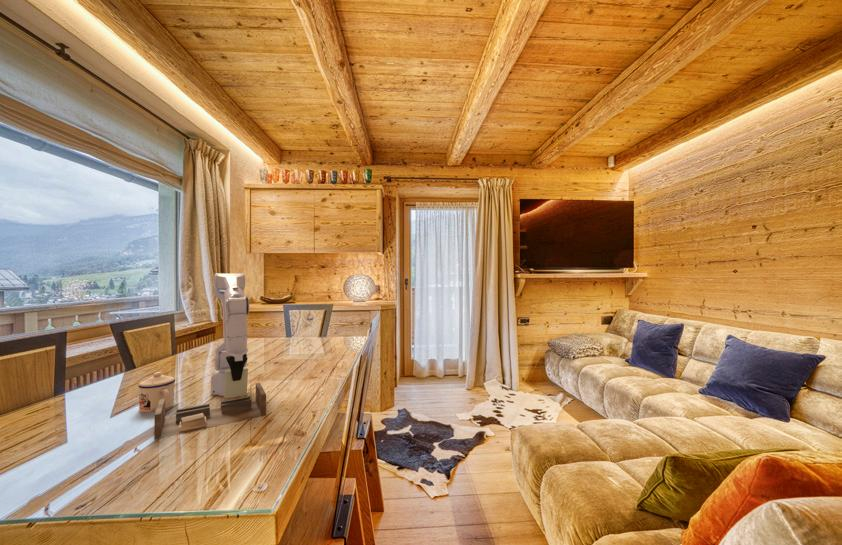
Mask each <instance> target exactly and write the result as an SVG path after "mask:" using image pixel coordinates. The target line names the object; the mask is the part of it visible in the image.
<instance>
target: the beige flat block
mask: <svg viewBox="0 0 842 545" xmlns="http://www.w3.org/2000/svg"><path fill="white" fill-rule="evenodd" d="M248 376H249V369H248V368H243V373H242V377H241V380H238V381H233V379H232V375H231V370H227V371H226V374H225V394H224V396H223V397H224V399H229V398H236V397H245V396H247V395H248Z"/></svg>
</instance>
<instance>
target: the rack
mask: <svg viewBox="0 0 842 545" xmlns="http://www.w3.org/2000/svg"><path fill="white" fill-rule="evenodd" d="M210 406H211V405H210V403H206V404H204V403H203V404H200V405H195V406H189V407H184V408H183V407H182V408H178V409H176V413H175V416H170V417H166V409H165V398H163V399H160V400H159V403H158V406H157V409H156V411H154V412H155V413H154V428H153V430H154V440H160V439H164V438H168V437H172V436H176V435H181V434H186V433H191V432H195V431H199V430H201V431H202V430H205V429H209V428H214V427H219V426H222V425H228V424H232V423H237V422H242V421H246V420H252V419H254V418H255V419H256V418H260V417H265V416H267V392H265V390H264V388H263V386H262V384H261V383H260V382H257V383H255V401H252V399H251V395H250V396H242V397H238V398H232V399H227V400H222V401H220V407H219V408H217V407H216V408H211V407H210ZM200 413H203V414H204V416H205V417H206V426H204V427H199V428H195V429H190V430H185V431H181V432H179V424H180V422H181V418H183V417H187V416H192V415H196V414H200Z"/></svg>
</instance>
